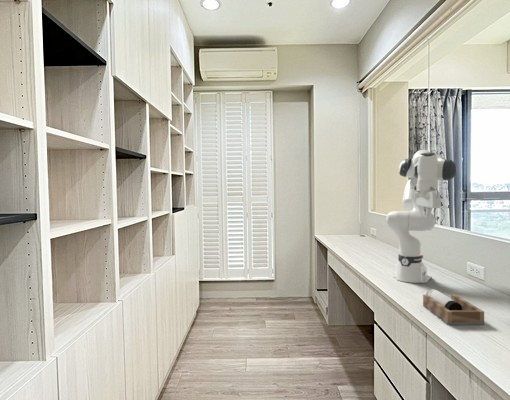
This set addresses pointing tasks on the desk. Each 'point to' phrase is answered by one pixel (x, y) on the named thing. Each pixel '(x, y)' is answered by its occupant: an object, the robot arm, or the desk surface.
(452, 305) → the travel mug
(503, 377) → the desk surface
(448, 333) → the desk surface
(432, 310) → the u rest
